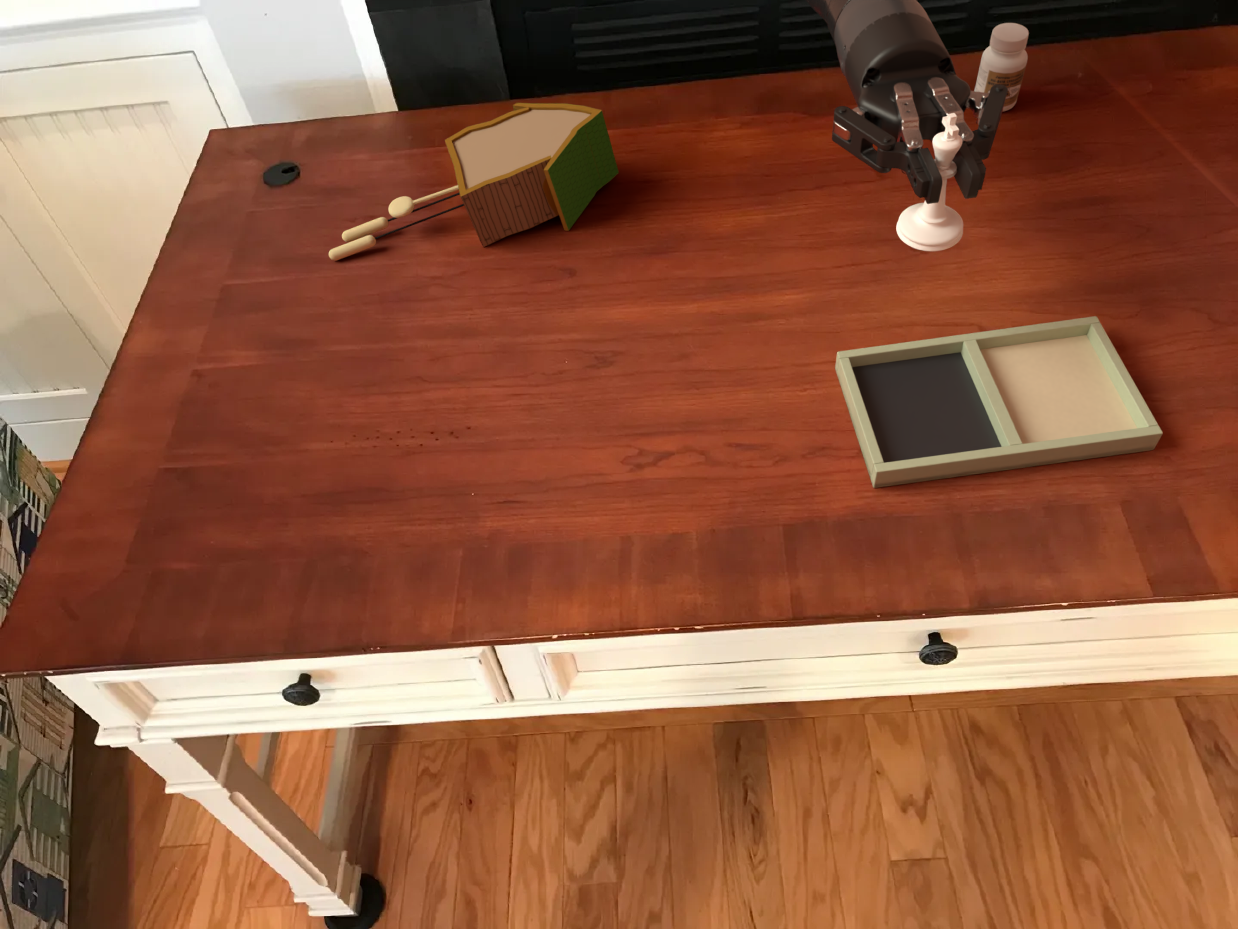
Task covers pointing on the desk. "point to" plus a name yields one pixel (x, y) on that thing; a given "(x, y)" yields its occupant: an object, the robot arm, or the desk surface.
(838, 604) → the desk surface
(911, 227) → the chess piece
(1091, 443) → the sorting tray
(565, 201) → the cuckoo clock
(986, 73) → the pill bottle
